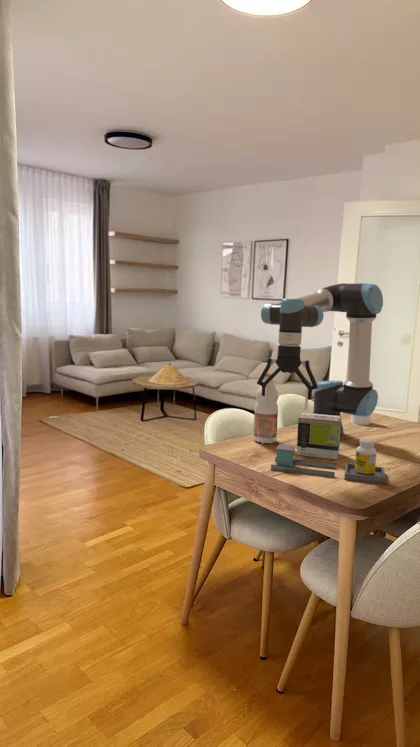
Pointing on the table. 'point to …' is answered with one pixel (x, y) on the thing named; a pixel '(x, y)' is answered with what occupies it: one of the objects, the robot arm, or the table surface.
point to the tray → (351, 475)
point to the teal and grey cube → (285, 455)
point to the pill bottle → (365, 458)
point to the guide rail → (304, 470)
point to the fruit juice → (266, 414)
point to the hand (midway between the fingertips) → (285, 407)
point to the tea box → (318, 435)
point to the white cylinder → (360, 420)
